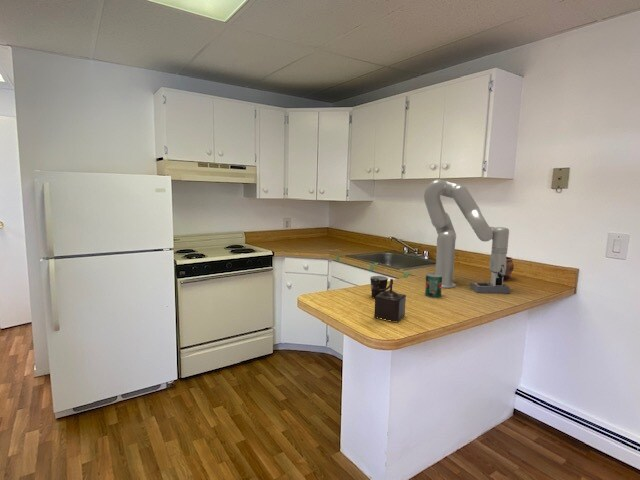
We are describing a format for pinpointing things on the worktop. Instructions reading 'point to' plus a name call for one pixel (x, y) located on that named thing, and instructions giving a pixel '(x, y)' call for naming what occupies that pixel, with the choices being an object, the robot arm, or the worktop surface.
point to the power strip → (489, 288)
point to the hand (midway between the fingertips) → (496, 283)
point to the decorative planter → (508, 268)
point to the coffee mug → (381, 286)
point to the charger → (494, 279)
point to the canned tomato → (433, 285)
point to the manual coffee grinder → (388, 302)
